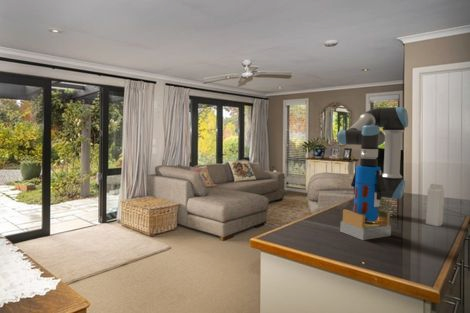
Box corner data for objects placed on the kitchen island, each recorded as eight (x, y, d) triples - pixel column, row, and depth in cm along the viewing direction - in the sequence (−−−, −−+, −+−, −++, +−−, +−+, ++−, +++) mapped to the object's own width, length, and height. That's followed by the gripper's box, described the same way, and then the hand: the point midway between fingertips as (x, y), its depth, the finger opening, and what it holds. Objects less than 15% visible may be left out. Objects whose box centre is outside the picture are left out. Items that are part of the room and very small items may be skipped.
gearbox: (340, 231, 153) (341, 209, 152) (366, 227, 161) (367, 206, 160) (362, 240, 140) (364, 215, 140) (390, 235, 148) (392, 212, 147)
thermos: (376, 222, 143) (379, 168, 141) (351, 218, 148) (354, 166, 147) (379, 217, 152) (382, 166, 150) (356, 214, 157) (358, 165, 156)
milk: (437, 226, 167) (440, 185, 166) (425, 223, 172) (428, 184, 170) (442, 224, 171) (445, 184, 169) (430, 222, 176) (432, 183, 174)
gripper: (344, 156, 157) (342, 199, 158) (384, 159, 136) (381, 209, 137) (355, 156, 160) (353, 198, 162) (396, 159, 139) (393, 208, 141)
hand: (366, 203), depth 150 cm, fingers closed on thermos, 11 cm apart
